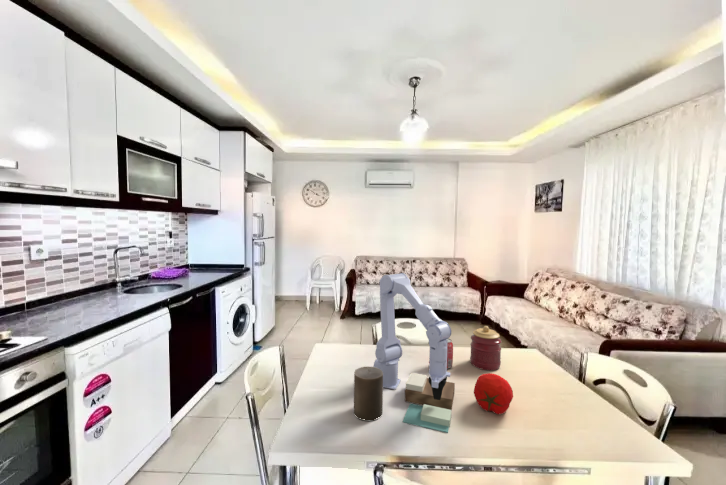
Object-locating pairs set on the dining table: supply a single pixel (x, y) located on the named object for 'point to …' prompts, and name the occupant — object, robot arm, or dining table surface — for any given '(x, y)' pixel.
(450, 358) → the soda can
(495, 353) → the canister
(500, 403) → the tomato
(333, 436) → the dining table surface
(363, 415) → the pillar candle
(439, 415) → the pale green block
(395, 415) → the dining table surface
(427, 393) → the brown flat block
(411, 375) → the off-white flat block
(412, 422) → the mat
